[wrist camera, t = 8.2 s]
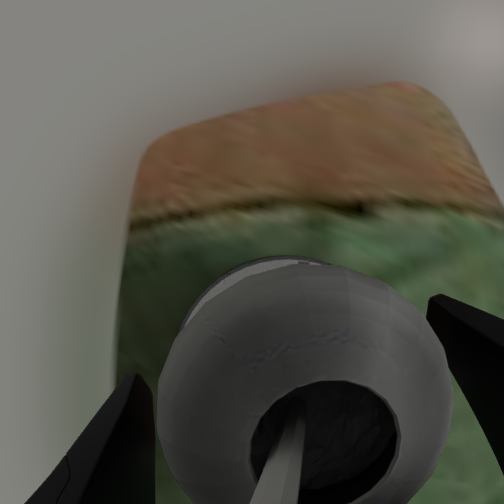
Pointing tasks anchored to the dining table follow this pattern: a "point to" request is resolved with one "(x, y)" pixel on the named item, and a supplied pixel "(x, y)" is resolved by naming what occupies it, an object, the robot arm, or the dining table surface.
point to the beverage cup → (305, 393)
